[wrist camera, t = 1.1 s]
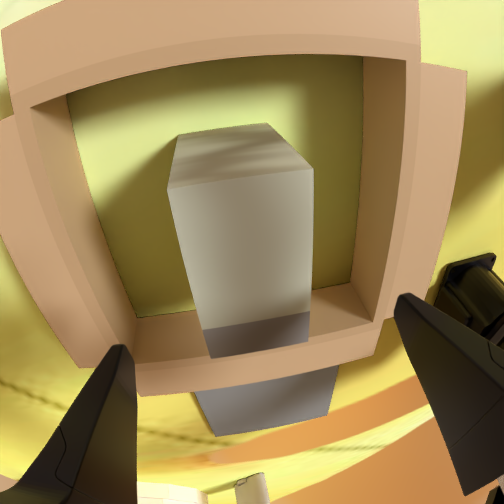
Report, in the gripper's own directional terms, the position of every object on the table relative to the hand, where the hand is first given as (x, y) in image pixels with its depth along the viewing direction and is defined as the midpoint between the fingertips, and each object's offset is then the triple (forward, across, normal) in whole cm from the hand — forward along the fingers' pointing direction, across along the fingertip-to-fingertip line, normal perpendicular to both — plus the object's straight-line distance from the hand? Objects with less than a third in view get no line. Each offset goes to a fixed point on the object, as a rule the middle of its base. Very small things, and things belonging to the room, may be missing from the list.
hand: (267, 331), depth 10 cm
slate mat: (+9, -1, +21) cm, 23 cm away
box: (+9, 0, 0) cm, 9 cm away
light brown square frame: (+9, 0, 0) cm, 9 cm away
